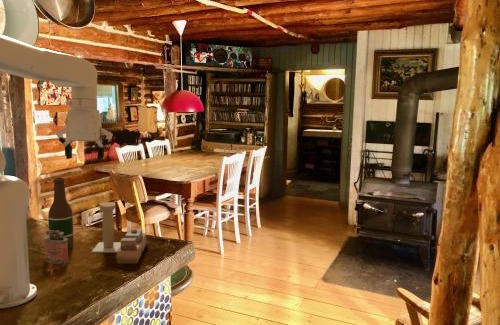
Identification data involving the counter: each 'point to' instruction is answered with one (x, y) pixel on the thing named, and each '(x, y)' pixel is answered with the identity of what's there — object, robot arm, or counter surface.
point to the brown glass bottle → (61, 212)
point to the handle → (108, 223)
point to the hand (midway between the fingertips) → (84, 159)
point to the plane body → (131, 246)
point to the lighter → (56, 247)
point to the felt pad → (101, 249)
